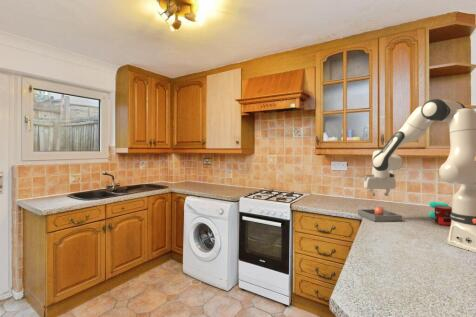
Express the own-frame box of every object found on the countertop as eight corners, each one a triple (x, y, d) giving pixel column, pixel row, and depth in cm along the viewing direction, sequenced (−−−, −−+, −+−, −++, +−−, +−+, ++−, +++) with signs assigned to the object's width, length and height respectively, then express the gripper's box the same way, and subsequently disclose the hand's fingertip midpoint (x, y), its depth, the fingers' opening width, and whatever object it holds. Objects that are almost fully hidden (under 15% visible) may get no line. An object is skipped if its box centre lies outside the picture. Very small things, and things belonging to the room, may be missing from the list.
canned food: (435, 221, 157) (435, 204, 156) (452, 224, 151) (452, 206, 151) (433, 224, 151) (433, 205, 151) (450, 227, 146) (451, 208, 145)
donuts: (452, 204, 162) (438, 204, 161) (452, 219, 162) (438, 220, 161) (439, 201, 172) (425, 201, 171) (438, 216, 172) (425, 216, 171)
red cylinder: (385, 217, 163) (385, 208, 163) (377, 217, 162) (377, 208, 162) (379, 215, 168) (380, 206, 168) (372, 215, 167) (373, 206, 167)
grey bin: (401, 221, 157) (401, 215, 157) (374, 221, 155) (374, 216, 155) (382, 214, 175) (382, 209, 175) (357, 214, 173) (357, 209, 173)
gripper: (367, 174, 160) (367, 196, 160) (397, 174, 162) (397, 196, 162) (361, 174, 166) (361, 195, 166) (390, 174, 168) (390, 194, 168)
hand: (379, 195), depth 164 cm, fingers open, 8 cm apart
